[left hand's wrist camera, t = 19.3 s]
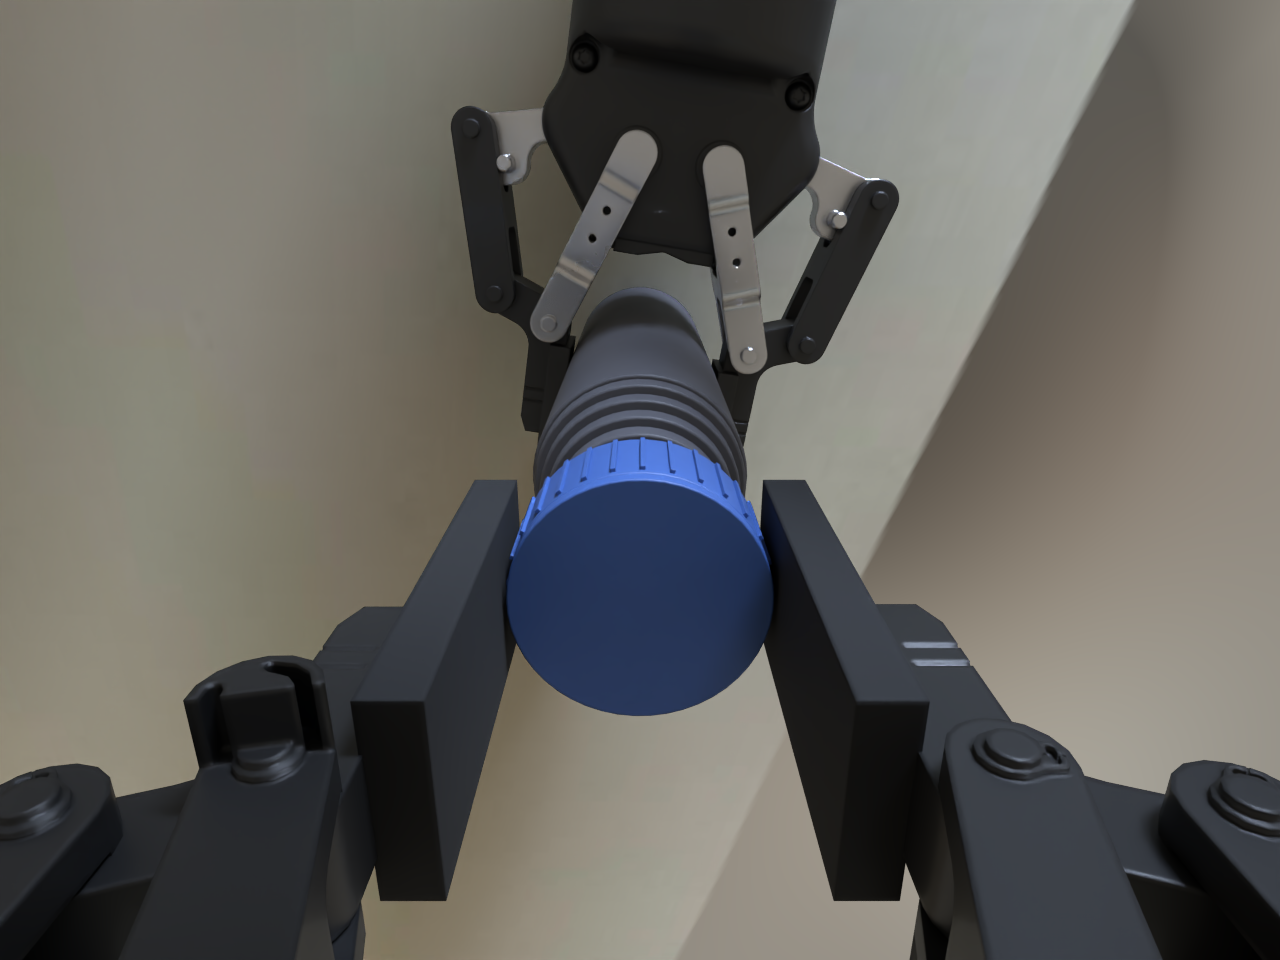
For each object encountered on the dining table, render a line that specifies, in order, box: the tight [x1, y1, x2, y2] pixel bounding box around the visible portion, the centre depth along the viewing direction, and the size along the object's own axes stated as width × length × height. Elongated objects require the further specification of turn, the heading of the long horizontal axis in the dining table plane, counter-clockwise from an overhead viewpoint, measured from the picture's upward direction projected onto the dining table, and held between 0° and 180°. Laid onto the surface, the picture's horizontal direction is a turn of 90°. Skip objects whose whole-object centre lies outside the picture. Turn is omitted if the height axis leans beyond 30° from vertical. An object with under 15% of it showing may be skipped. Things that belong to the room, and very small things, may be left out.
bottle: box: [533, 287, 747, 498], centre depth 23 cm, size 5×5×21 cm
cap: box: [506, 437, 774, 716], centre depth 14 cm, size 4×4×2 cm
